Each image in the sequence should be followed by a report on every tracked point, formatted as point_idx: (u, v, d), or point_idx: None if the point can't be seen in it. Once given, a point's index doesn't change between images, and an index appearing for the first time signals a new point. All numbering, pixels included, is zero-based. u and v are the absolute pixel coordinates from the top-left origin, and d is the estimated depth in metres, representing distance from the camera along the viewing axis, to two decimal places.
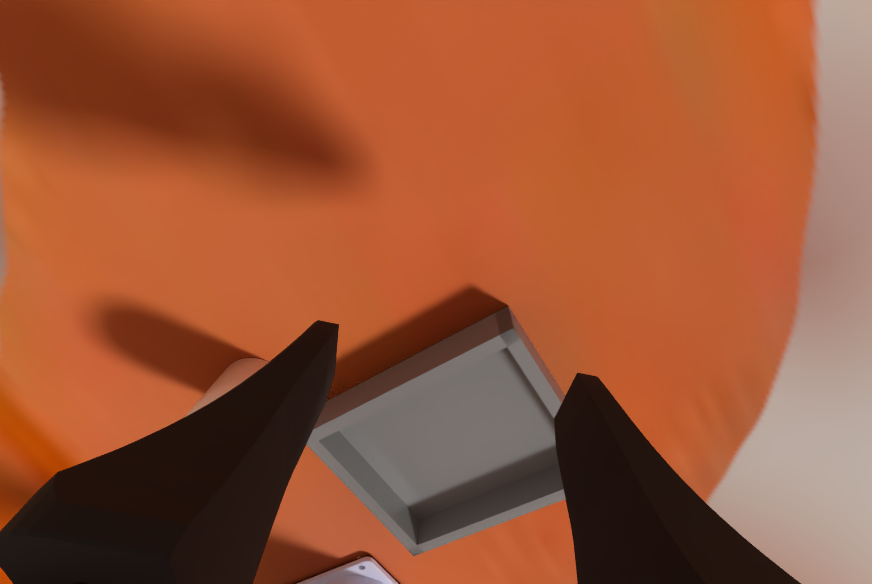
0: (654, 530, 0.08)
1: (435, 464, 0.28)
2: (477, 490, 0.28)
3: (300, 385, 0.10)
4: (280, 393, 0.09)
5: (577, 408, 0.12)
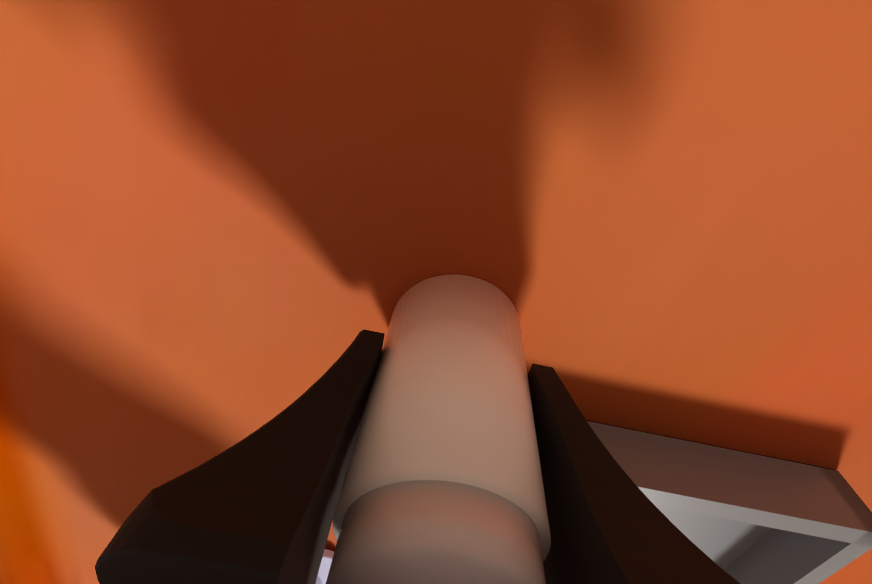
0: (584, 517, 0.08)
1: None
2: None
3: (357, 396, 0.10)
4: (342, 405, 0.09)
5: None
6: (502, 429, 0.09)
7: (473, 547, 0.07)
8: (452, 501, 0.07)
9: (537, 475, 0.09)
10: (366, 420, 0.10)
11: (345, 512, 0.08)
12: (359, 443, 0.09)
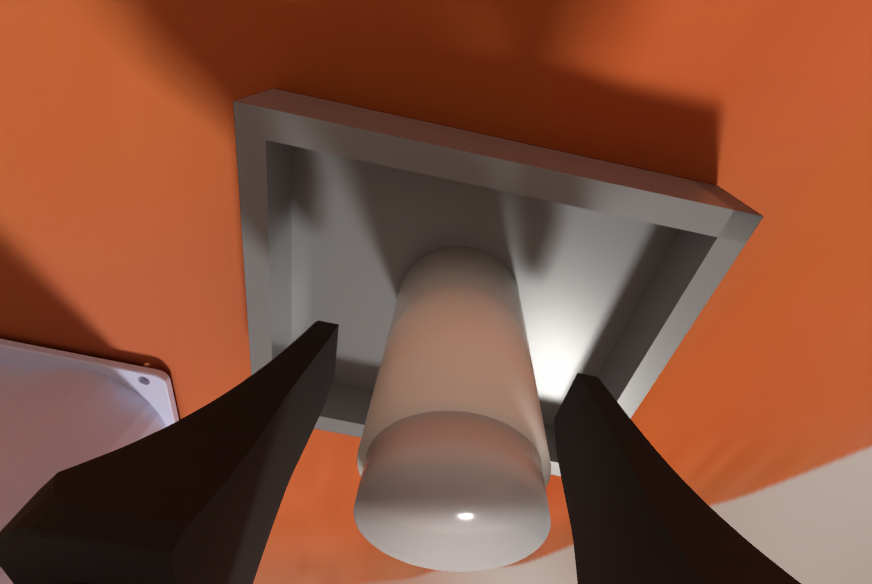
0: (654, 530, 0.08)
1: (388, 321, 0.16)
2: None
3: (300, 385, 0.10)
4: (280, 393, 0.09)
5: (577, 408, 0.12)
6: (500, 368, 0.10)
7: (476, 458, 0.08)
8: (456, 425, 0.08)
9: (535, 407, 0.10)
10: (380, 375, 0.11)
11: (367, 450, 0.09)
12: (375, 394, 0.10)
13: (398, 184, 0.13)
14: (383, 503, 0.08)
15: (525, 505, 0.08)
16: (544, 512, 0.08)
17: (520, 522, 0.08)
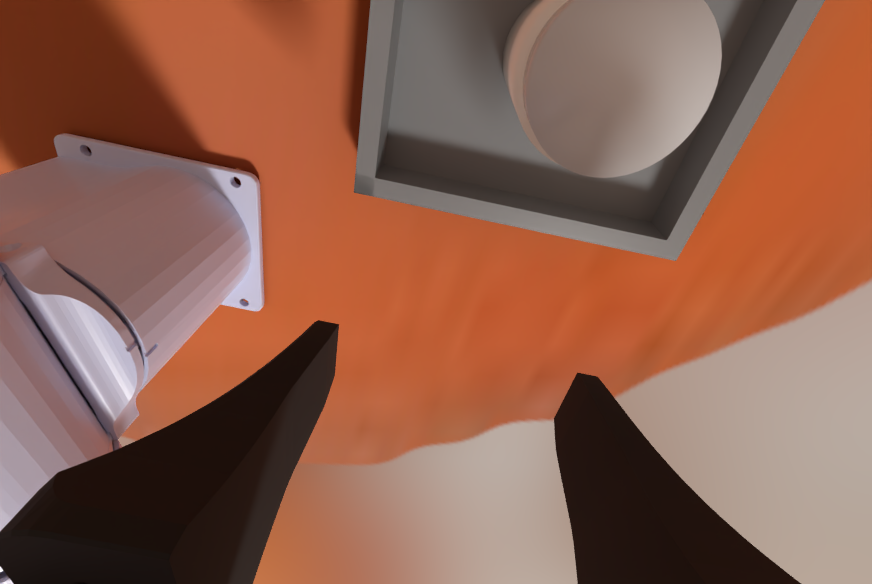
0: (653, 530, 0.08)
1: (487, 90, 0.17)
2: (494, 178, 0.19)
3: (300, 385, 0.10)
4: (280, 393, 0.09)
5: (577, 408, 0.12)
6: None
7: None
8: None
9: None
10: (524, 27, 0.11)
11: (529, 52, 0.10)
12: (525, 30, 0.11)
13: None
14: (561, 58, 0.09)
15: (700, 43, 0.09)
16: (717, 53, 0.09)
17: (689, 76, 0.09)
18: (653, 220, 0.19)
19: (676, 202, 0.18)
